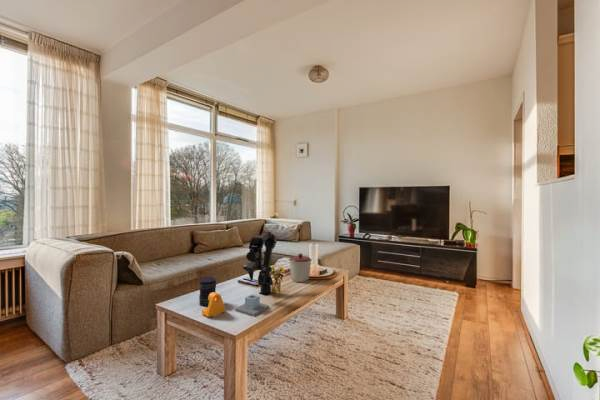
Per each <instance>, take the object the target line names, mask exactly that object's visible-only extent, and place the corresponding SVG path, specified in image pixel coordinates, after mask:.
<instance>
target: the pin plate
mask: <svg viewBox="0 0 600 400" xmlns="http://www.w3.org/2000/svg"><path fill="white" fill-rule="evenodd" d="M269 309H270V304H265V303H261V302H260V306H259V307H257V308H256V309H254V310H252V309H248V308H245V303H243V304H240V305H239V306H238V307H235V308H234V311H235V312H237V313H240V314H244V315H246V314H247V315H246V316H250V317H253V316H254V317H256V316H257V315H259V313H260V314H261V313H263V312H265V311H267V310H269Z"/></svg>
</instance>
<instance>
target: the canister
mask: <svg viewBox="0 0 600 400" xmlns="http://www.w3.org/2000/svg"><path fill="white" fill-rule="evenodd" d="M312 260H313V259H312V258H310V257H309V256H306V255H303V254H302V253H298V254H297V255H294V256H292V257H290V258H289V259H288V261H289V268H290V269H289V270H290V277H291V280H292V281H293V282H296V283H305V282H308V280H309V278H310V272H311V271H310V270H311V264H312V263H311V262H312Z"/></svg>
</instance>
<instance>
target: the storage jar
mask: <svg viewBox="0 0 600 400" xmlns="http://www.w3.org/2000/svg"><path fill="white" fill-rule="evenodd" d="M198 284H199V285H198V286H199V287H198V288H199V295H198V298H199V299H198V300H199V302H198V303H199V306H200V307H204V308H208V305H209V302H210V301H209V300H208V296H209V294H210V293H212V292H215V293H216V288H217V278H216V277H215V276H206V277H201V278H200V279H199V283H198Z"/></svg>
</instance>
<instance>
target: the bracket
mask: <svg viewBox="0 0 600 400" xmlns="http://www.w3.org/2000/svg"><path fill="white" fill-rule="evenodd" d="M208 300H209V301H210V302H209V305H208V307H205V308H203V309H202V310H201V315H202V316H206V317H207V318H209V317H211V316H212V318H213V317H216V315H217V316H219V315H221V314H222V313H223V312H224V313H225V312H226V306H225V304H224V301H223V298H222V296H221V294H220V293H217V292H216V291H215V292H212V293H210V294H209V296H208Z"/></svg>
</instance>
